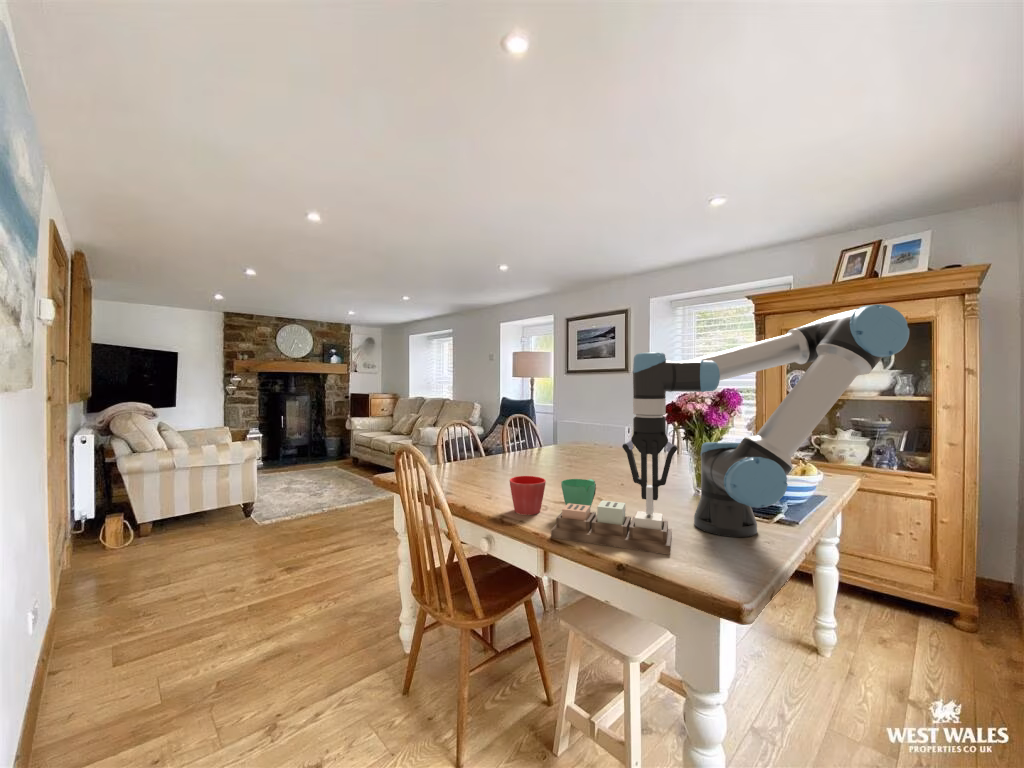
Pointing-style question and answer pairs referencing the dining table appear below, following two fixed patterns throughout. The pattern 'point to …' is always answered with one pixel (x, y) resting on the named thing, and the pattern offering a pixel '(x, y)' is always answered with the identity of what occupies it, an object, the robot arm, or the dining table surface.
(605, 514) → the tile
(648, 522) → the tile
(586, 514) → the tile
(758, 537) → the dining table surface
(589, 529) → the tile rack
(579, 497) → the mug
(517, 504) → the flower pot
